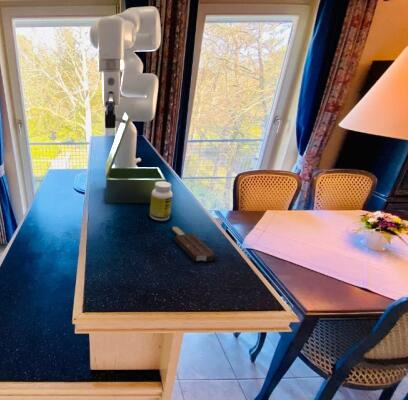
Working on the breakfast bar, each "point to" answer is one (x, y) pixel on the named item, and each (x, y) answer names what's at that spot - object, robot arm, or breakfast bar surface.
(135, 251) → the breakfast bar surface
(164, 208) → the pill bottle
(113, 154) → the bin lid
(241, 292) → the breakfast bar surface
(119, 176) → the bin
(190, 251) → the ice cream bar
